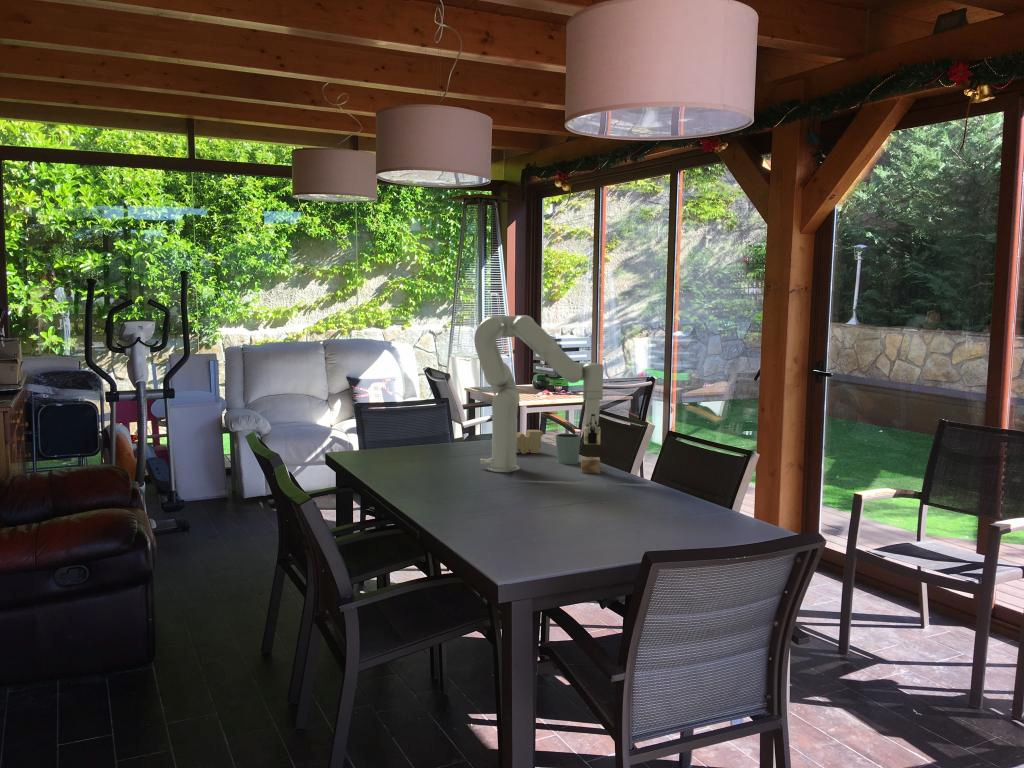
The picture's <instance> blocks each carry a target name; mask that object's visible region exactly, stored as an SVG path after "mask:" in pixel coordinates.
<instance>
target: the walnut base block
mask: <svg viewBox="0 0 1024 768" xmlns="http://www.w3.org/2000/svg"><path fill="white" fill-rule="evenodd" d="M580 470H581V472H580V474H601V459H600V456H596V457H595V456H581V457H580Z"/></svg>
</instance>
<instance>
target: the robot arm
mask: <svg viewBox="0 0 1024 768" xmlns="http://www.w3.org/2000/svg"><path fill="white" fill-rule="evenodd" d="M473 338H474V339H473V340H474V347H475V352H476V354H477V356H478V357H477V358H478V360H479V364H480V366H481V369H482V372H483V375H484V379H485V382H486V383H487V384H488V385H489V386H490V388H491V390H492V392H493V398H492V400H491V401H492V403H491V411H492V413H491V415H492V418H491V419H492V423H491V424H492V428H491V431H492V432H491V433H492V435H491V457H489V458H480V460H479V464H482V465H488V466H487V470H488V471H490V472H495V473H514V471H519V470H520V469H521V467H520V466H519V465H517V451H516V445H517V433H518V430H517V429H518V405H519V404H520V400H521V399H520V394H519V390H518V388H517V385H516V382H515V379H514V376H513V373H512V371H511V369H510V366H509V365H508V364H507V363H506V362H504V360H503V358H502V355H501V352H500V348H499V346H498V343H497V340H498V339H497V338H519V339H520V340H521V341H523V343H525V344H526V345H527V346H528V348H530V349H531V350H532V351H533V352H535V353H536V354H537V356H539V357H540V358H541V359H542V360H543V361H544V362H545V363H546V364H547V365H548V366H550V368H552V369H553V370H554V371H555V372H556V373H557V374H558V375H559V376H560V377H561V378H562V379H563V380H565V381H566V382H568V383H571V384H576V383H578V382H579V381H582V383H583V384H582V386H583V387H582V390H583V391H582V400H585V403H584V404H585V405H584V407H585V408H584V424H585V426H586V427H589V433H588V443H589V444H588V445H597V444H596V443H597V433H596V427H598V425H599V420H600V401H602V400H604V399H603V398H604V397H603V396H604V395H603V394H604V366H603V364H602V363H599V362H589V363H585V362H584V363H583V362H577V361H574V360H573V358H571V357H570V356H569V355H568V354H567V353H566V352H565V351H564V350H562V348H561V347H560V346H559V344H558V343H557V341H556V340H555V339H554V338H553V337H552V336H551V335H549V333H548V332H547V331H545V330H544V329H543V328H542V327H541V326H540V325H539V324H538V323H537V322H536V321H535V319H533V317H531V315H525V314H524V315H489V316H488V317H486V318H484V319H483V320H481V322H480V323H479V324H478V326H477V327H476V329H475V333H474V337H473Z"/></svg>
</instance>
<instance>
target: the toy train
mask: <svg viewBox="0 0 1024 768" xmlns="http://www.w3.org/2000/svg"><path fill="white" fill-rule="evenodd" d="M543 436H544V432H543V431H542V430H540V429H526V433H525V434H524V433H522V432H520V431H517V445H516V452H519V453H520V454H524V455H525V454H527V453H528V452H530V453H531V454H532V453H537V454H538V453H539V451H540V449H542V437H543Z"/></svg>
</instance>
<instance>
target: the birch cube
mask: <svg viewBox="0 0 1024 768" xmlns="http://www.w3.org/2000/svg"><path fill="white" fill-rule="evenodd" d="M601 431H602V429H601V427H600V426H596V433H597V443H596V444H595V445H601V433H602V432H601ZM588 433H589V427H588V426H586V425H585V426H583V443H584V445H590V444H589V443H588Z"/></svg>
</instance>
